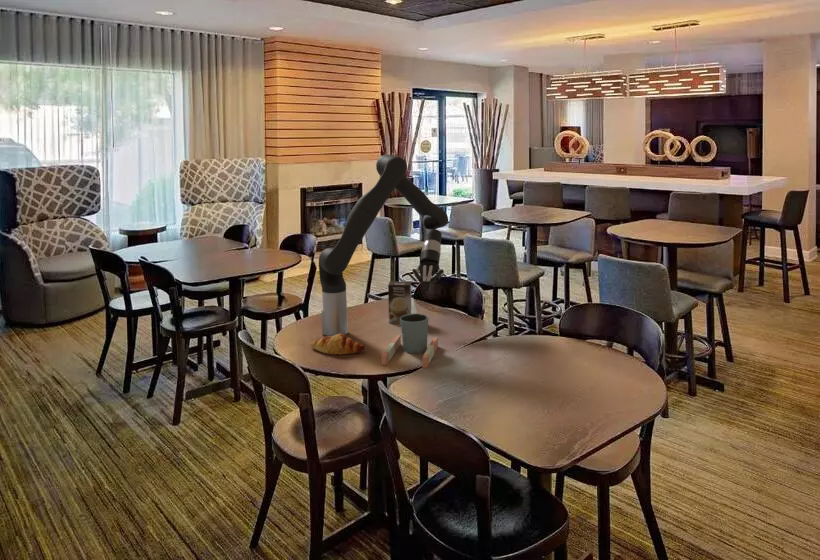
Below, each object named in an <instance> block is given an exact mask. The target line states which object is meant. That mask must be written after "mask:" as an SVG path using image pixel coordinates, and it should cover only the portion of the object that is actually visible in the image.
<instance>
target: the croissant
mask: <svg viewBox="0 0 820 560" xmlns="http://www.w3.org/2000/svg"><path fill="white" fill-rule="evenodd" d="M346 335H347V334H346ZM346 335H345V334H341V333H340V334H336V335H334V336H324V337H323V338H317V339H315V340H312V341H311V342H310V347H311V348H313V349H314V350H316V351H317V352H320V353H324V354H326V353H327V354H326V355H334V354H339V356H341V355H352V354H358V353H360V352H362V351H364V350H365V349H366V347H365V344H361V343H360V342H358V341H354V340H353V339H352V338H351V337H348V336H346Z"/></svg>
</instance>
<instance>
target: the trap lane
mask: <svg viewBox="0 0 820 560" xmlns="http://www.w3.org/2000/svg"><path fill="white" fill-rule="evenodd" d="M401 337H402V334H401V335H399V334H396V335H395V336H394V338H393V339H392V340H391V342H390V343H389V345H388V346H387V347H386V349H385V350H384V352H383V353H382V354H381V366H387V365H388V364H389V362H390V361H391V359H392V358H393V356H394V355H395V354H396V352H397V351H398V349H399V348H400V346H401V343H402V342H401V341H402V340H401ZM437 347H439V337H438V336H433V338H432V339H431V342H430V343H429V344H428V346H427V350H426V351H424V354H423V355H422V357H421V358H422V359H421V362H422V363H421V364H422V368H424V369H425V368H426V369H427V368H428V367H429V365H430V363H431V361H432V359H433V357H434V355H435V353H436V352H437V349H438V348H437ZM396 350H397V351H396ZM387 363H388V364H387Z"/></svg>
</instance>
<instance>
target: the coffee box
mask: <svg viewBox="0 0 820 560" xmlns="http://www.w3.org/2000/svg"><path fill="white" fill-rule="evenodd" d="M387 287H388V288H387V291H388V296H387V297H388V299H387V300H388V324H401V323H400V317H401V316H403V315H406V314H412V281H389V283H388V286H387Z"/></svg>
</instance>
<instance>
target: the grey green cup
mask: <svg viewBox="0 0 820 560" xmlns="http://www.w3.org/2000/svg"><path fill="white" fill-rule="evenodd" d="M399 324H400V332H401V337H402V340H401V341H402V348H403V351H404V352H405V351H406V352H405V353H408V352H409V354H410V353H411V354H420V352H421V353H425V352H426V351H425V350H427V348H428V332H429V316H428V315H427V314H424V313H411V314H406V315H403V316H401V317H400V323H399Z"/></svg>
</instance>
